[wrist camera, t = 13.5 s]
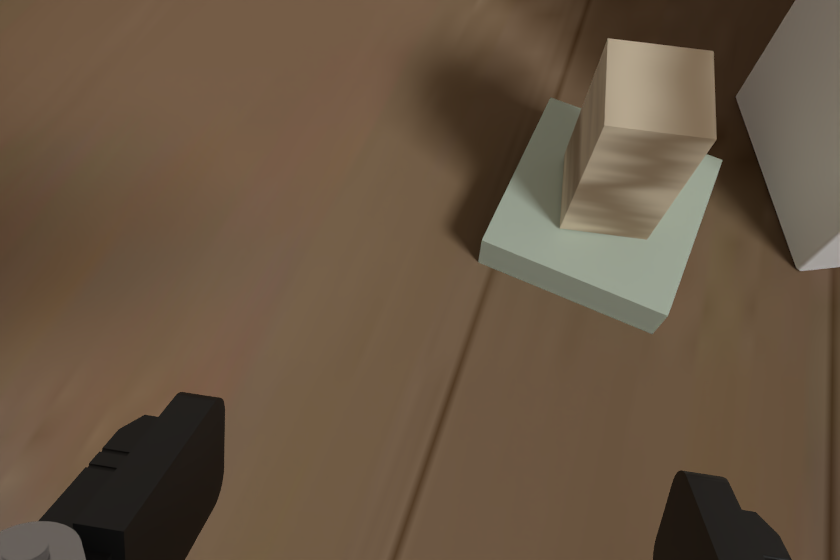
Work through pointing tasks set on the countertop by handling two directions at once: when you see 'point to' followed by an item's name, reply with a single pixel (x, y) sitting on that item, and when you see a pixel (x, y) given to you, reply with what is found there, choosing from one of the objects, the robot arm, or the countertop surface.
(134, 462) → the robot arm
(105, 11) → the countertop surface
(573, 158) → the maple block
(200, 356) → the countertop surface
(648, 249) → the base slab
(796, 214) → the gable box
